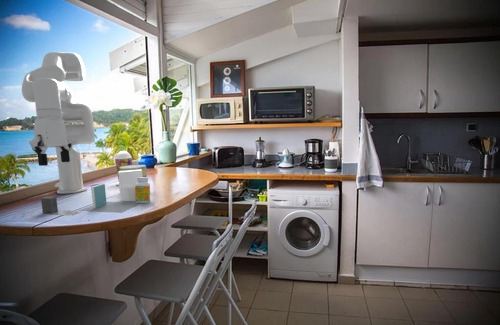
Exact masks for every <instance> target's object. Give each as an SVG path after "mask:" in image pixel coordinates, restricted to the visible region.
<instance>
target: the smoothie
mask: <svg viewBox="0 0 500 325" xmlns="http://www.w3.org/2000/svg"><path fill="white" fill-rule="evenodd" d="M114 157H115V158H114V160H115V161H114V162H115V167H116V174H117V180H118V182H119V175H118V172H119V171H120V169H119V167H122V166H128V165H133V156H132V155H131V154H130V153H129V151H126V150H124V145H121V150H120V151H119V152H118V153H117V154H116V155H115V156H114Z"/></svg>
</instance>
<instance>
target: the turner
mask: <svg viewBox="0 0 500 325" xmlns="http://www.w3.org/2000/svg"><path fill="white" fill-rule="evenodd" d="M40 203H41V209H42V214H48V215H51V216H72V217H73V216H76V215H79V214H81V213H84V212H85V211H78V210H77V211H76V210H59V209H58V208H59V207H58V200H57V196H44V197H41V198H40Z"/></svg>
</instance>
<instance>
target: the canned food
mask: <svg viewBox="0 0 500 325" xmlns="http://www.w3.org/2000/svg"><path fill="white" fill-rule="evenodd" d="M119 169H120V171H129V170H140V169H141V170H142V177H148V176H147V175H148V174H147V165H146V164H132V165H128V166H122V167H119Z"/></svg>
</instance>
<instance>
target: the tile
mask: <svg viewBox="0 0 500 325" xmlns="http://www.w3.org/2000/svg"><path fill="white" fill-rule="evenodd" d="M90 189H91V191H90V192H91V200H92V205H93V208H98V207H101V206H103V205H106V204H107V202H108V201H107V194H106V185H105V183H100V184H95V185H93V186H91V187H90Z"/></svg>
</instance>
